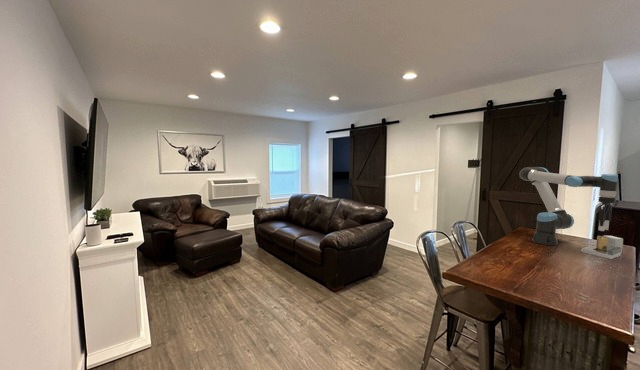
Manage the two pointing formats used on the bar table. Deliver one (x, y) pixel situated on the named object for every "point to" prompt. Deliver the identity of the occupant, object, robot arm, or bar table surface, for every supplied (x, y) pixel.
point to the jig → (608, 254)
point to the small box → (614, 242)
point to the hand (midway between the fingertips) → (603, 230)
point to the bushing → (601, 243)
